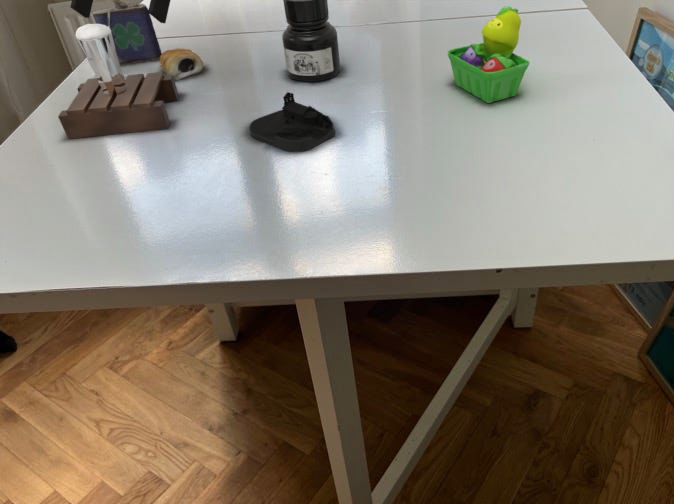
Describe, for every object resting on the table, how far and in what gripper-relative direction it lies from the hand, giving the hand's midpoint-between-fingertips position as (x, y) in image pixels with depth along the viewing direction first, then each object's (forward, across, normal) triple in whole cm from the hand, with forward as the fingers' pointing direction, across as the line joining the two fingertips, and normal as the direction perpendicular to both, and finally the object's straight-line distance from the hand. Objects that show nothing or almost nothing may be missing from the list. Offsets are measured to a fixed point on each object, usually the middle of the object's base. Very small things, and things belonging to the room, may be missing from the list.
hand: (117, 15), depth 79 cm
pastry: (0, -3, +18) cm, 19 cm away
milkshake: (+10, 0, +3) cm, 10 cm away
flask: (-2, -14, +20) cm, 25 cm away
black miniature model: (+11, +27, +7) cm, 30 cm away
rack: (+12, 0, +6) cm, 14 cm away
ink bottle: (-3, +21, +22) cm, 30 cm away
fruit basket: (-3, +50, +22) cm, 55 cm away
